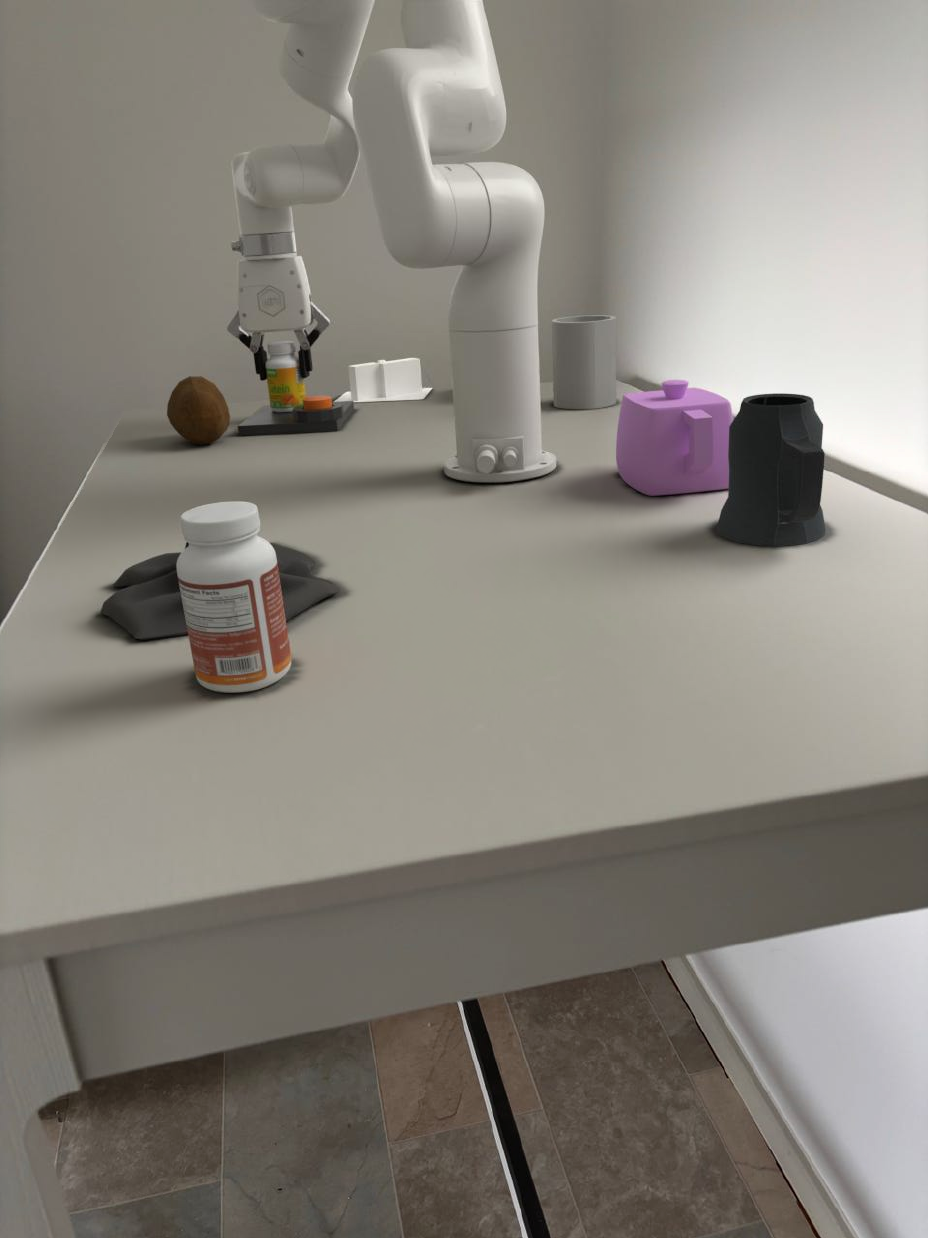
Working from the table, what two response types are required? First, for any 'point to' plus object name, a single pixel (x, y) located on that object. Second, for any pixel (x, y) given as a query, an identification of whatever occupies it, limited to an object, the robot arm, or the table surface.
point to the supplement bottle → (284, 377)
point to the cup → (584, 361)
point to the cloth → (159, 603)
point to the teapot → (674, 440)
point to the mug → (774, 472)
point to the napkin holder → (385, 381)
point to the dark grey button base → (296, 420)
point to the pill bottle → (232, 599)
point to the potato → (198, 410)
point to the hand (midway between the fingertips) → (285, 376)
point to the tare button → (317, 402)
